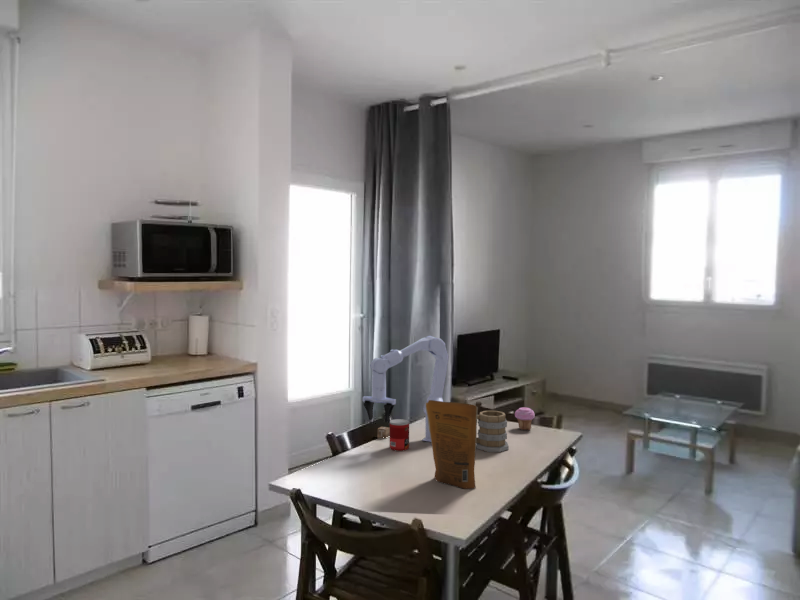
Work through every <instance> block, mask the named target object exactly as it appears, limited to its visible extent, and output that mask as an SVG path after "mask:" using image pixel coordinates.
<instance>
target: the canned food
mask: <svg viewBox="0 0 800 600" xmlns="http://www.w3.org/2000/svg"><path fill="white" fill-rule="evenodd" d="M389 428H390V437H389V449H390V450H392V451H395V450H396V452H402V451H403V450H404V451H407V450H409V449H410V421H409V420H407V419H402V418H401V419H400V418H396V419H395V418H394V419H391V420H389Z"/></svg>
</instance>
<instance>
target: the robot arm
mask: <svg viewBox="0 0 800 600" xmlns="http://www.w3.org/2000/svg"><path fill="white" fill-rule="evenodd" d="M446 346H447V345H446V342H445V341H444V340H443V339H442V338H440V337H435V336H433V335H427V336H425V337H422V338H421V337H420V339H418V340H417V341H415V342H412V343H411V344H409V345H408V346H406V347H404V348H402V349H400V350H399V349H393V348H392V349H390V351H389V352H388V353H385V354H381V355H380V357H375V358H373V359H372V361H371V362H370V364H369V366H370V369H371V373H372V375H371V396H370V395H369V396H367V395H364V396H362V402H363V406H364V409H365V410H366V413H367V416H368V420H370V421H372V420H373V419H374V406H375V405H374V404H375V403H378V404H384V405H383V408H384V415H385V418H384V421H385V422H386V423H388V422H390V418H391V415H392V411H393V409H394V407H395V406H396V404H397V399H396V398H391V397H388V396H387V377H386V376H387V375H386V373H387V371H388V369H391V368H392V367H395V366H397V365H398V364H400V363H402V362H403V360H404V358H406V357H408V356H410V355H412V354H416V353H417V352H420V351H425V352H426V351H427V352H429V353H430V354H431V355H432V356H433V358H434V359H435V361H434V368H433V374H432V381H431V385H430V386H431V387H430V393H429V395H428V397H427V398H426V402H425V403H424V405H423V409H422V410H423V412H424V414H425V434H424V435H425V437H424V438H422V439H421V441H422V442H430V443H431V438H430V431H429V425H428V417H427V412H426V403H428V402H429V400H434V401H442V402H444V399H443V395H444V387H445V383H446V377H447V370H448V365H449V357H450V356H449V352H448V350H447V348H446Z"/></svg>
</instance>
